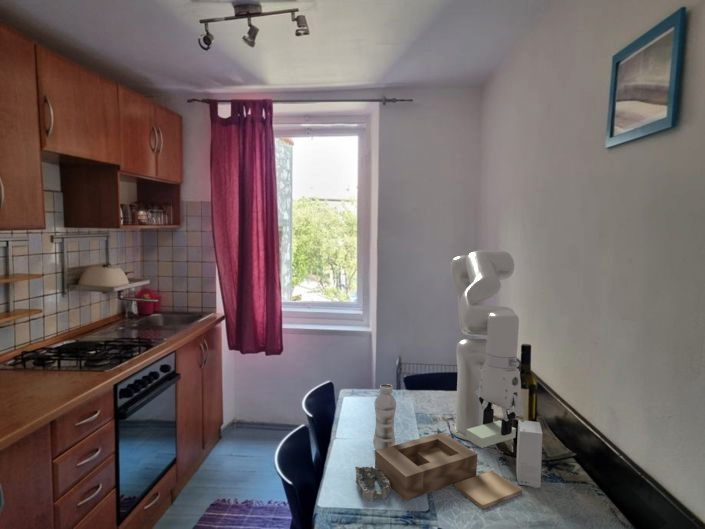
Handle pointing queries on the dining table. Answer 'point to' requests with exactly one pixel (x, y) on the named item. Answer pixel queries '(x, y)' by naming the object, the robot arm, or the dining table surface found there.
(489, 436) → the slab
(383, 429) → the plastic bottle
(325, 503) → the dining table surface
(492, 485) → the plate
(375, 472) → the egg carton
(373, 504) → the dining table surface
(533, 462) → the skincare box
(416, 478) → the pocket board
